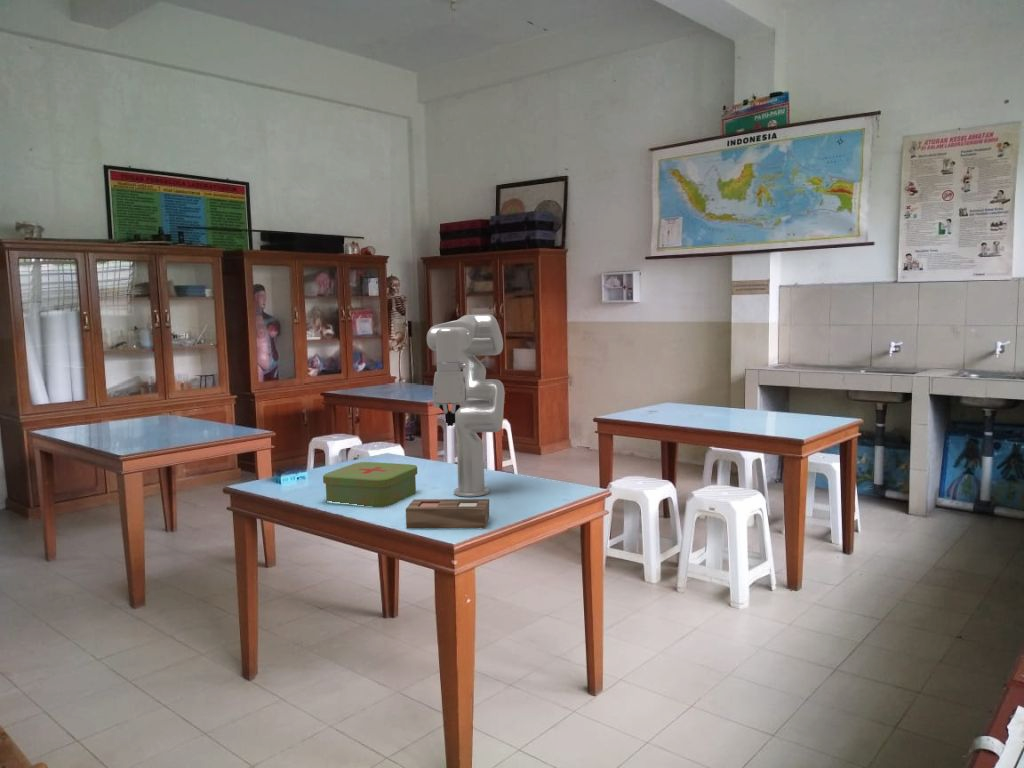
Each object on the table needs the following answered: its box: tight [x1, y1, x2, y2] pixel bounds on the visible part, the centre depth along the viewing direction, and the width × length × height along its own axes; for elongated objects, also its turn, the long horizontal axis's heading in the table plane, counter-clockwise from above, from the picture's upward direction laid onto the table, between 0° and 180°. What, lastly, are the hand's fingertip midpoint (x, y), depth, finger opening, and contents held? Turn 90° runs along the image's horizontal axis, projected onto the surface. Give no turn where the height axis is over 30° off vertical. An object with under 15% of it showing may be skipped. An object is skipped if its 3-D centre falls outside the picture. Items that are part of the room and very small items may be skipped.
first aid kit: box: [322, 461, 418, 508], centre depth 270 cm, size 26×26×10 cm
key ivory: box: [459, 503, 477, 506], centre depth 233 cm, size 5×5×4 cm
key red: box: [420, 503, 439, 507], centre depth 234 cm, size 5×5×4 cm
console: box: [405, 498, 491, 530], centre depth 234 cm, size 12×24×6 cm, turn 86°
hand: (450, 425), depth 240 cm, fingers closed
